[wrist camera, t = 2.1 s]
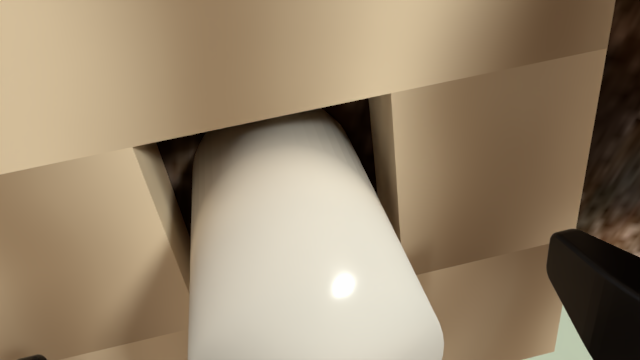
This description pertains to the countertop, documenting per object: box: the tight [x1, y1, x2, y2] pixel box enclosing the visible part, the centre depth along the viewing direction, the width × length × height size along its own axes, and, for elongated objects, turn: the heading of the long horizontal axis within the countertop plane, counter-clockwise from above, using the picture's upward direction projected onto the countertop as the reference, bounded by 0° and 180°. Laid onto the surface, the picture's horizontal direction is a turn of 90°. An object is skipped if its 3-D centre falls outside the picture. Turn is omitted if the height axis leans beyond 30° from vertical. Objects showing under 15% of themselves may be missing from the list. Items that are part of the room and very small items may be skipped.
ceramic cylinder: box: [188, 108, 444, 360], centre depth 11 cm, size 4×4×6 cm
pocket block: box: [0, 0, 616, 360], centre depth 12 cm, size 14×14×2 cm
